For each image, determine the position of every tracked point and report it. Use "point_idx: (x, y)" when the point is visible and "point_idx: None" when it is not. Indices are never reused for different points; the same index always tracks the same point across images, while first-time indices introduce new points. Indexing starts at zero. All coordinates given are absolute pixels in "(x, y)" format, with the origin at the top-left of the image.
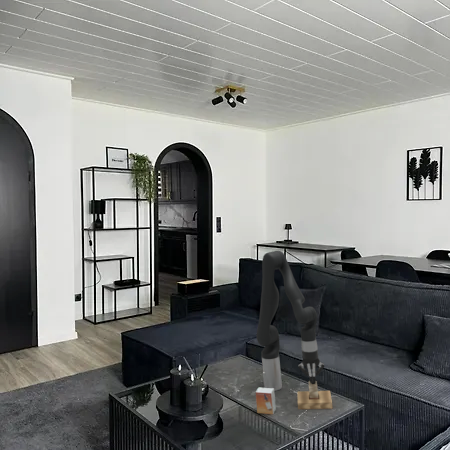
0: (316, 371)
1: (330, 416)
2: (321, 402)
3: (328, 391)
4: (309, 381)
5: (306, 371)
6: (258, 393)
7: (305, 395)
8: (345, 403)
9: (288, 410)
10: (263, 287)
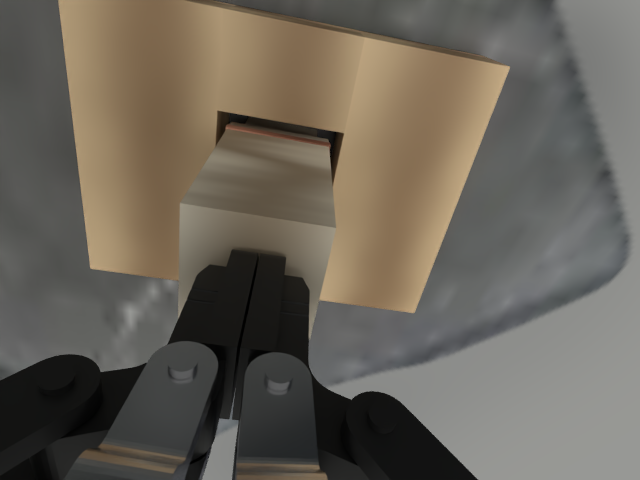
0: (351, 468)
1: (351, 360)
2: (322, 297)
3: (482, 84)
4: (199, 211)
5: (42, 436)
6: None
7: (174, 124)
8: (544, 225)
9: (28, 235)
10: None
